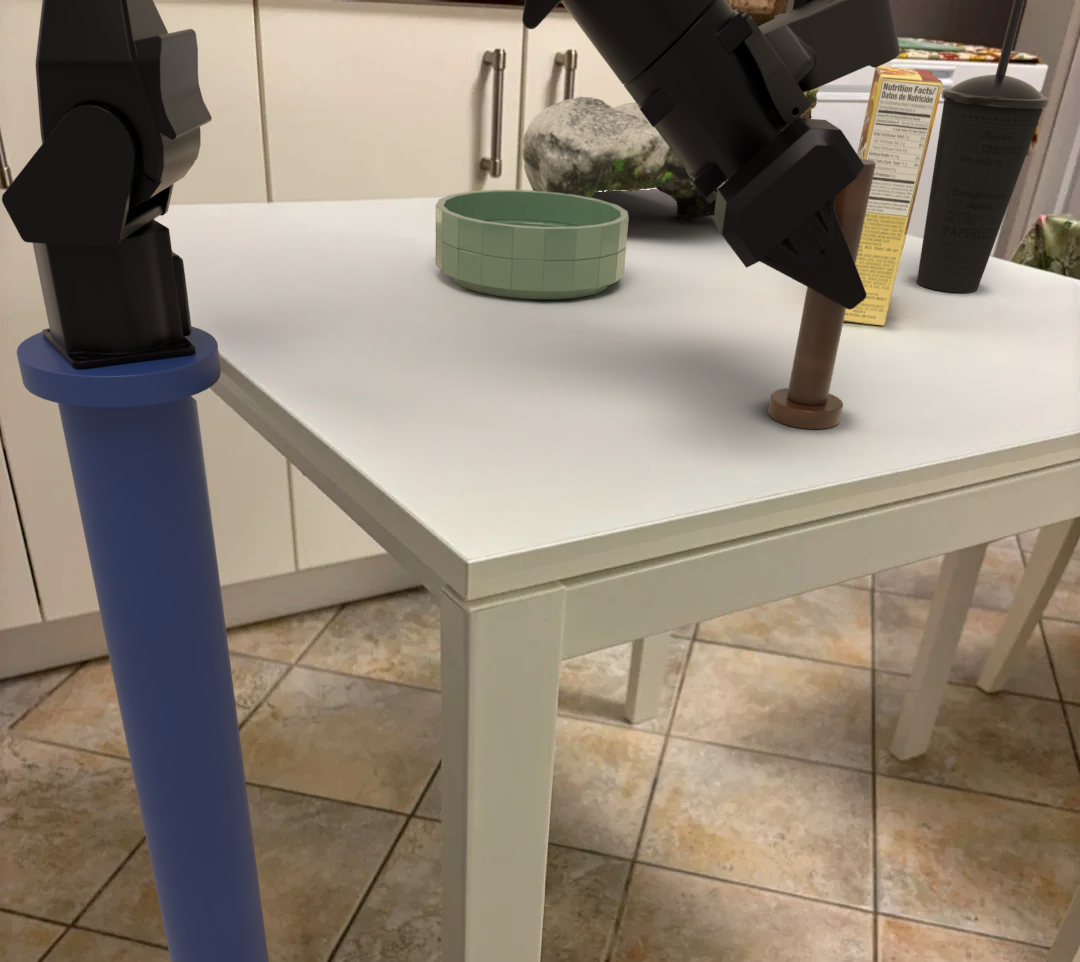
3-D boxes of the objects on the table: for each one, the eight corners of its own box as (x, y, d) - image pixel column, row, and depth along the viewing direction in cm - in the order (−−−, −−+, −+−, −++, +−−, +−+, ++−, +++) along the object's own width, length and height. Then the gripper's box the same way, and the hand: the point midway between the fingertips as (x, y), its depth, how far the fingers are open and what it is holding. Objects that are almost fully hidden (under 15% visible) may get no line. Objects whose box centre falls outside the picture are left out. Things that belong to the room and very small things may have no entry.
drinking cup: (963, 302, 85) (1045, -6, 74) (880, 280, 90) (945, -14, 78) (1014, 290, 90) (1098, -4, 78) (932, 269, 94) (1000, -11, 83)
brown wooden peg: (804, 434, 60) (856, 169, 52) (753, 410, 62) (795, 155, 55) (854, 422, 62) (911, 165, 54) (802, 400, 64) (850, 152, 57)
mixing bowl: (502, 312, 76) (504, 235, 74) (402, 265, 86) (401, 195, 83) (659, 291, 83) (667, 220, 80) (552, 250, 93) (555, 185, 90)
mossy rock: (910, 147, 101) (885, -36, 92) (667, 314, 95) (613, 136, 86) (708, 139, 123) (671, -10, 114) (499, 274, 117) (441, 129, 107)
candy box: (827, 291, 86) (871, 64, 77) (882, 297, 85) (933, 68, 77) (828, 321, 79) (877, 74, 70) (889, 327, 78) (946, 79, 69)
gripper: (862, -115, 41) (1060, 223, 47) (780, -98, 56) (938, 156, 63) (629, 113, 45) (840, 393, 52) (612, 71, 61) (776, 292, 67)
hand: (853, 296), depth 58 cm, fingers closed on brown wooden peg, 2 cm apart
